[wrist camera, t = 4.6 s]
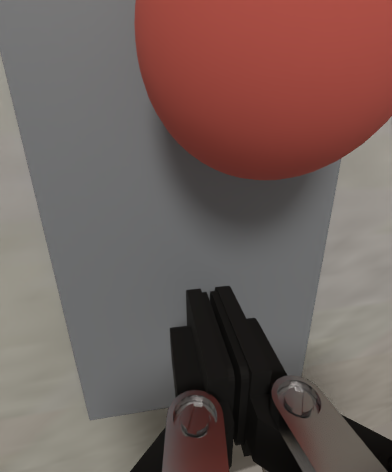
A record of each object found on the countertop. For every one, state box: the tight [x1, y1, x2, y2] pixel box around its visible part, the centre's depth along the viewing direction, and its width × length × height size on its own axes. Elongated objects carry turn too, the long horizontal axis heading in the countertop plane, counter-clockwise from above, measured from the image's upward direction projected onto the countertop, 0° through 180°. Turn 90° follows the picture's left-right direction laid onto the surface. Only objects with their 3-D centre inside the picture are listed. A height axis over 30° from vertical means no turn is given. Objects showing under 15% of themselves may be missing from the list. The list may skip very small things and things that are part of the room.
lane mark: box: [0, 0, 341, 420], centre depth 10 cm, size 24×11×1 cm, turn 1°
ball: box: [134, 0, 392, 180], centre depth 6 cm, size 6×6×6 cm
